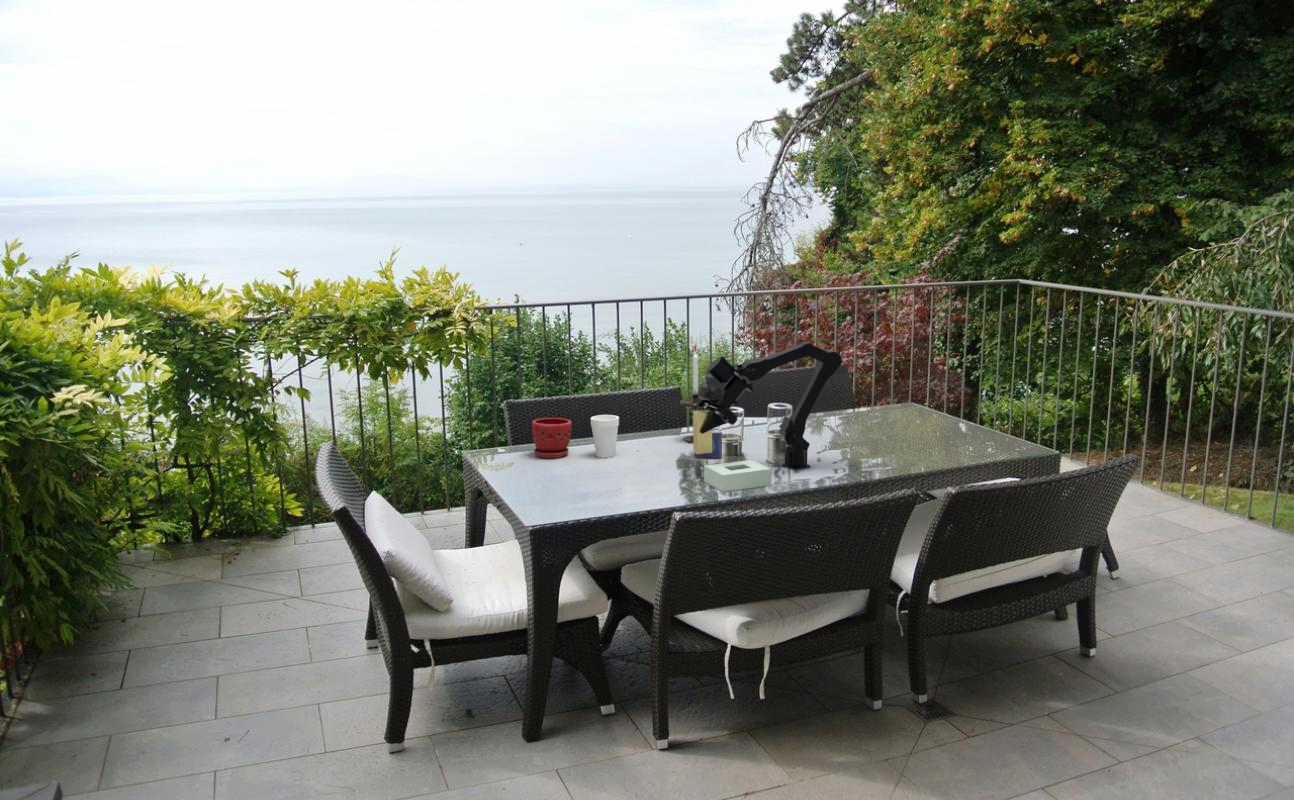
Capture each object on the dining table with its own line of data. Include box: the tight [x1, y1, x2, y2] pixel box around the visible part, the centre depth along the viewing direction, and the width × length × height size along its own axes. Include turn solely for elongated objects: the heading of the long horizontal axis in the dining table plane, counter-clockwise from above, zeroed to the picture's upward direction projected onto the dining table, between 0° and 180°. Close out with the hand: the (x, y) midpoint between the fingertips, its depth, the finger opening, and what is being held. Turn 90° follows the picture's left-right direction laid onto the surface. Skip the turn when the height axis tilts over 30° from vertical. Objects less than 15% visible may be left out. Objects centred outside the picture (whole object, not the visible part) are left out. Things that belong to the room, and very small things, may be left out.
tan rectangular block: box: [692, 409, 713, 454], centre depth 292 cm, size 5×3×13 cm, turn 112°
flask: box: [694, 430, 723, 460], centre depth 313 cm, size 9×3×11 cm, turn 78°
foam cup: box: [590, 414, 620, 458], centre depth 318 cm, size 10×9×13 cm
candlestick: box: [679, 343, 708, 444], centre depth 335 cm, size 11×11×35 cm
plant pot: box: [531, 417, 572, 459], centre depth 319 cm, size 13×13×12 cm
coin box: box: [703, 459, 772, 493], centre depth 283 cm, size 16×12×5 cm
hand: (698, 431), depth 292 cm, fingers closed on tan rectangular block, 3 cm apart
